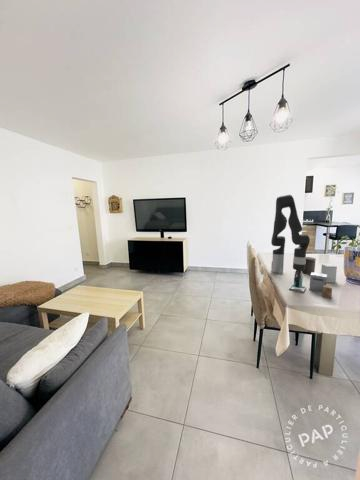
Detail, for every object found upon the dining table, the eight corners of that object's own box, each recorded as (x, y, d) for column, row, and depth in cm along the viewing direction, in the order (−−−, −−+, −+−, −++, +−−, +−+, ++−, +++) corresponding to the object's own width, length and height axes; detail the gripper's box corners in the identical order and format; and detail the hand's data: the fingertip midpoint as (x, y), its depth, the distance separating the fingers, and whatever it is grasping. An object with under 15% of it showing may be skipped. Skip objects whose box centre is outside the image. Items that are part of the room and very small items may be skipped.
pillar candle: (302, 274, 169) (304, 257, 167) (300, 270, 178) (301, 255, 175) (315, 275, 165) (317, 258, 163) (312, 271, 174) (314, 255, 172)
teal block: (293, 287, 138) (294, 277, 137) (294, 285, 141) (295, 275, 140) (300, 288, 135) (301, 279, 134) (302, 286, 138) (302, 277, 137)
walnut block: (322, 297, 125) (323, 286, 124) (323, 294, 129) (323, 284, 128) (331, 298, 123) (332, 288, 121) (331, 296, 126) (332, 286, 125)
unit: (309, 289, 137) (310, 274, 135) (311, 286, 143) (312, 271, 141) (325, 292, 131) (326, 277, 130) (326, 289, 137) (327, 274, 135)
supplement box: (335, 282, 149) (337, 266, 147) (325, 282, 150) (326, 266, 148) (330, 279, 156) (331, 263, 154) (320, 278, 157) (321, 263, 155)
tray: (289, 289, 138) (289, 288, 138) (291, 285, 145) (292, 284, 144) (303, 293, 132) (303, 291, 132) (306, 288, 139) (306, 287, 138)
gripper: (303, 265, 128) (302, 290, 130) (307, 261, 138) (305, 283, 141) (290, 264, 132) (289, 287, 135) (295, 259, 143) (294, 281, 146)
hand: (297, 285), depth 138 cm, fingers closed on teal block, 4 cm apart
